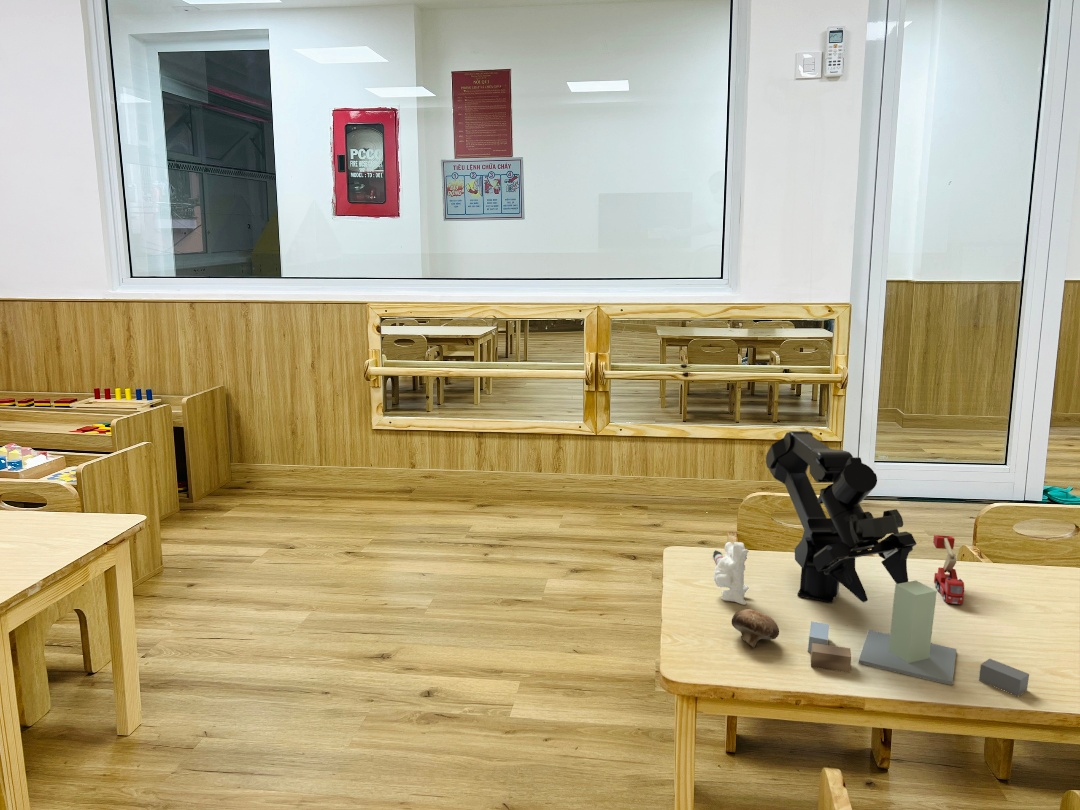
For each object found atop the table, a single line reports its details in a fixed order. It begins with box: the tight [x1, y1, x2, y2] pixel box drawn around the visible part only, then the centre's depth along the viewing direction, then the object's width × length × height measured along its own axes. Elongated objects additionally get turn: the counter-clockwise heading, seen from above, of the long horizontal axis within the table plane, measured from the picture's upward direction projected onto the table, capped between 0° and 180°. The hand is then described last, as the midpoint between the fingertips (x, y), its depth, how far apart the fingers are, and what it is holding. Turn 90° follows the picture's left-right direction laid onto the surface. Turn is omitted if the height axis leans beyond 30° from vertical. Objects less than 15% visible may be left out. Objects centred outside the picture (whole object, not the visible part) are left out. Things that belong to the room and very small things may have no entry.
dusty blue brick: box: [807, 621, 830, 653], centre depth 146 cm, size 6×3×3 cm, turn 160°
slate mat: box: [858, 629, 957, 686], centre depth 142 cm, size 14×12×1 cm
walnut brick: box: [810, 643, 852, 674], centre depth 139 cm, size 6×3×3 cm, turn 74°
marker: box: [712, 549, 724, 565], centre depth 177 cm, size 15×2×2 cm, turn 1°
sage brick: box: [888, 580, 938, 663], centre depth 141 cm, size 4×4×12 cm
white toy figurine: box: [713, 541, 749, 606], centre depth 162 cm, size 8×7×12 cm
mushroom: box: [731, 608, 780, 648], centre depth 146 cm, size 8×8×6 cm
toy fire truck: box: [932, 534, 965, 605], centre depth 167 cm, size 3×14×10 cm, turn 168°
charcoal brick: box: [978, 658, 1030, 697], centre depth 134 cm, size 6×3×3 cm, turn 38°
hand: (886, 596), depth 146 cm, fingers open, 9 cm apart
